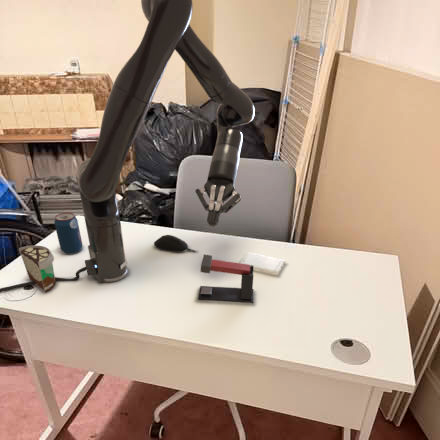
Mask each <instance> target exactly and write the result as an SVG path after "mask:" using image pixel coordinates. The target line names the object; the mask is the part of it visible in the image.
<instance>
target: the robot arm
mask: <svg viewBox="0 0 440 440" xmlns="http://www.w3.org/2000/svg"><path fill="white" fill-rule="evenodd" d="M140 3H141V4H140V5H141V10H142V13H143V15H144V18H145V19H146V20H147V26H146V29H145V31H144V35H143V37H142V39H141V41H140V43H139V45H138V47H137V48H136V49H135V51H134V52H133V54H132V55H131V56H130V57H129V59H128V60H127V61H126V62H125V64H124V65H123V66H122V68H121V69H120V70H119V72H118V73H117V75H116V77H115V79H114V81H113V84H112V87H111V89H110V92H109V94H108V97H107V100H106V103H105V107H104V111H103V113H102V114H103V115H102V119H101V125H100V130H99V136H98V139H97V143H96V145H95V148H94V150H93V152H92V155H91V156H90V157H89V158H86V159H85V160H83V161H82V162H81V163H80V164H79V165H78V167H77V169H76V181H77V186H78V191H79V196H80V202H81V207H82V213H83V218H84V222H85V226H86V232H87V233H86V234H87V238H88V244H89V245H87V250H88V255H89V259H84V265H85V266H84V267H82V268H80V269H78V270H76V271H75V276H74V277H73V278H65V277H57V276H55V282H56V281H57V282H76V281H78V280H80V278H81V277H80V276H81V275H80V274H81V273H83V272H85V271H86V275H87V277H91V276H92V277H93V276H94V277H95V278H96V279H97V280H98V282H99V283H112V282H117V281H120V280H123V279H124V278H126V276H128V267H127V265H128V260H127V259H126V254H125V246H124V238H123V231H122V223H121V215H120V209H119V205H118V200H117V195H116V189H117V186H118V184H119V183H118V182H119V179H120V177H121V174H122V173H121V172H122V170H123V166H124V163H125V160H126V158H127V156H128V153H129V151H130V149H131V148H132V145H133V143H134V142H135V140H136V137H137V135H138V133H139V131H140V129H141V127H142V125H143V123H144V120H145V118H146V116H147V114H148V112H149V109H150V106H151V104H152V102H153V100H154V96H155V94H156V92H157V89H158V87H159V85H160V82H161V80H162V78H163V76H164V73H165V71H166V68H167V66H168V64H169V62H170V59H172V56H173V54H174V53H175V51H176V53H177V54H178V55H179V56H180V57H181V60H182V61H183V62H184V63H185V64H186V66H187V68H188V69H189V71H191V73H192V75H193V76H194V77H195V79H196V80H197V81H198V83H199V84H200V86H201V87H202V89H203V90H204V92H205V93H206V95H207V96H208V98H209V99H210V100H211V102H213V103H215V104H219V105H218V107H217V110H216V126H217V129H216V130H217V137H216V142H215V146H214V150H213V153H212V156H211V159H210V160H211V161H210V165H209V170H208V173H207V174H208V175H207V179H206V182H205V183H204V185H203V187H202V188H196V189H195V193H196V195H197V197H198V199H199V201H200V203H201V205H202V207H203V209H204V210H205V211H206V212H208V213H207V218H206V223H207V224H208V226H209V227H212V228H213V227H214V228H215V227H216V226H217V225H218V224H219V222H220V221H219V220H220V216H221V214H223V213H224V214H227V213H228V212H230V211H231V210H232V209H233V208H234V207H235V206H236V205H238V203H240V202H241V200H242V197H241V194H240V193H239V192H236V188H235V183H236V179H237V174H238V170H239V166H240V165H239V164H240V155H241V150H242V147H243V146H242V145H243V141H244V140H243V138H244V137H243V133H242V132H241V130H239V129H238V128H236V127H238V126H243V125H247V124H249V123H251V122H252V121H253V120H254V117H255V111H256V109H255V106H254V102H253V101H252V99H251V98H250V97H249V95H248V94H247V93H246V92H244V91H243V90H242V89H241V88H240V87H239V86H238V85H237V84H235V82H233V81H232V79H231V78H230V76H229V74H228V72H227V71H226V69H225V68H224V66H223V65H222V64H221V62H220V61H219V59H218V58H217V57H216V56H215V54H214V53H213V52H212V51H211V50H210V49H209V48H208V46H206V44H205V43H204V42H203V41H202V40H201V38H200V37H199V36H198V34H196V32H195V30H194V29H193V28H192V26H191V25H190V22H191V21H192V16H193V12H194V11H193V10H194V9H193V8H194V5H193V0H140ZM206 195H207V196H208V199H209V204H208V202H207V201H206V198H205V197H206ZM225 202H226V203H225ZM35 284H36V282H35V281H26V282H22V283H18V284H12V285H9V286H5V287H1V288H0V293H1V292H7V291H10V290H11V291H12V290H16V289H19V288H20V289H21V288H25V287H28V286H32V285H33V286H34V285H35Z"/></svg>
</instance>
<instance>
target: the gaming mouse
mask: <svg viewBox="0 0 440 440" xmlns="http://www.w3.org/2000/svg"><path fill="white" fill-rule="evenodd" d="M153 245H154V247H155V248H157V249H158V250H162V251H167V252H174V253H183V252H185V251H189V252H193V253H196V250H194V249H192V248H189V246H188V243H187V242H186V241H184V240H183V239H181V238H179V237H177V236H175V235H171V234H165V235H161V236H160V237H159V238H157V239H156V240H155V241H154V242H153Z"/></svg>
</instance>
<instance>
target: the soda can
mask: <svg viewBox="0 0 440 440" xmlns="http://www.w3.org/2000/svg"><path fill="white" fill-rule="evenodd" d="M53 224H54V228H55V232H56V235H57V241H58V244H59V249H60V250H61V252H62V253H64V254H67V255H75V254H78V253H80V252H81V251H82V248H83V245H84V244H83V241H82V240H83V239H82V235H81V231H80V226H79V221H78V218H77V217H76V216H75V214H74V213H72V212H61V213H58V214H56V215H55V216H54V223H53Z"/></svg>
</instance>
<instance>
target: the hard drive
mask: <svg viewBox="0 0 440 440" xmlns="http://www.w3.org/2000/svg"><path fill="white" fill-rule="evenodd" d="M239 263H241V264H248V265H253V266H254V267H253V271H257V272H263V273H268V274H272V275H276V276H278V275H279V273H280V272H281V270H282V268H283V267H284V265H285V263H286V260H284V259H280V258H276V257H272V256H268V255H262V254H258V253H255V252H249V251H248V252H247V253H246V254H245V255H244V257H243V258H242V259H241V260H240V261H239Z"/></svg>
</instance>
